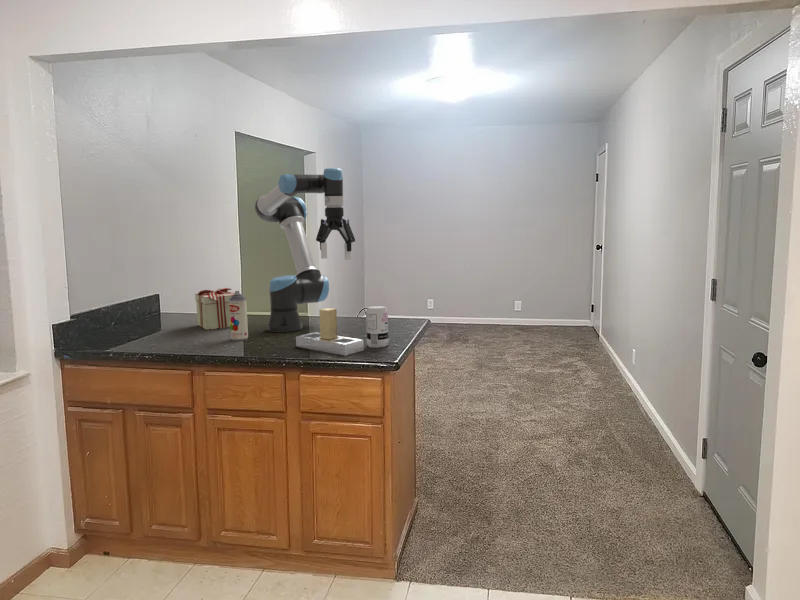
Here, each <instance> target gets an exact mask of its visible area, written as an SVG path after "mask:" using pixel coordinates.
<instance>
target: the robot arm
mask: <svg viewBox="0 0 800 600" xmlns="http://www.w3.org/2000/svg"><path fill="white" fill-rule="evenodd" d="M343 180H344V178H343V170H342V168H338V167H336V168H335V167H331V168H329V167H327V168H324V169H323V174H299V173H298V174H297V173H294V174H293V173H288V174H281V175H280V176H279V179H278V182H277V183H278V185H276V186H275V187H274V188H273V189H271V190H270V191H269V192H268V193H267V194H262V195H261V196H259V198H257V200H256V201H255V203H254V211H255V213H256V216H258V217H259V219H261V220H262V221H265V222H267V223H279V226H280V228H281V229H283V230H284V232H285V237H286V239H287V242H288V245H289V249H290V252H291V253H290V254H291V256H292V259H293V263H294V265H295V270H296V274H295V275H294V274H287V275H281V276H276V277H273V278H272V279H270V281H269V289H268V290H269V291H268V292H269V301H270V302H269V303H270V314H269V318H268V323H267V331H268V332H273V333H291V332H295V331H297V332H298V331H300V330H302V329H303V322H302V320H301V317H300V313H299V311H298V305H303V304H314V303H320V302H323V301H325V300H326V299H327V298H328V296H329V292H330V282H329V279H328V277H327V276H326V275H322V273H321V271H320V269H319V268H316V265H315V262H314V259H313V255H312V252H311V248H310V246H309V242H308V238H307V235H306V232H305V228H304V223H305V220H306V218H307V215H308V213H307V206H306V203H305V201H303V199H302V198H301V197H298V196H296V195H298V194H309V193H310V194H324V195H323V196H324V207H325V208H324V216H325V217H326V218H321V219H320V225H319V229H318V231H317V234H316V239H315V241H316V242H319V249H320V254H321V255H320V258H321V259H322V260H323V259H324V260H325V259H328V243H327V239H328V238H329V236H330V234H331V232H332V231H337V232H338V233H339V234H340V236H341V237H342V239H343V240H344V243H343V245H344V247H343V248H344V261H347V260H348V261H349V260H351V258H352V256H351V254H352V253H351V252H352V243H355V242H356V239H355V235H354V233H353V230H352V228H351V225H350V219H349V218H343V217H344V207H343V206H344V191H343V190H344V184H343V183H344V181H343Z"/></svg>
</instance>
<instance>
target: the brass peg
mask: <svg viewBox="0 0 800 600" xmlns="http://www.w3.org/2000/svg"><path fill="white" fill-rule="evenodd" d="M337 313H338V312H337V309H336V308H331V307H326V308H321V309H319V313H318V314H319V330H320V331H319V333H320V339H324V340H333V339H337V336H338V316H337Z"/></svg>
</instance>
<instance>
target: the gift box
mask: <svg viewBox="0 0 800 600" xmlns="http://www.w3.org/2000/svg"><path fill="white" fill-rule="evenodd" d="M230 291H232V288H231V287H230V288H228V287H224V288H217V289H216V290H211V289H205V290H204V289H203V290H200V291H198V293H195V294H194V298H195V299H194V300H195V302H196V303H195V304H196V318H197V319H196V320H197V322H196V323H197V326H199V327H200V328H202V329H204V330H206V331H209V329H211V330H218V329H217V328H220V329H228V328H227V327H229V328H231V327H230V310H229V299H230V298H231V297H232V296H233V295H234V294H235V292H233V291H232V292H230Z"/></svg>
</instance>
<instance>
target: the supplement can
mask: <svg viewBox="0 0 800 600" xmlns="http://www.w3.org/2000/svg"><path fill="white" fill-rule="evenodd" d="M388 311H389V310H388V309H387V306H386V305H369V306H368V307H367V309H366V311H365V320H366V321H365V323H366V327H365V328H366V330H365V331H366V345H367V346H368V347H369V348H374V349H375V348H376V349H378V348H379V349H380V347H381V348H385V347H387V346H388V345H389V322H388V321H389V319H388V317H389V314H388V313H389V312H388Z"/></svg>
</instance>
